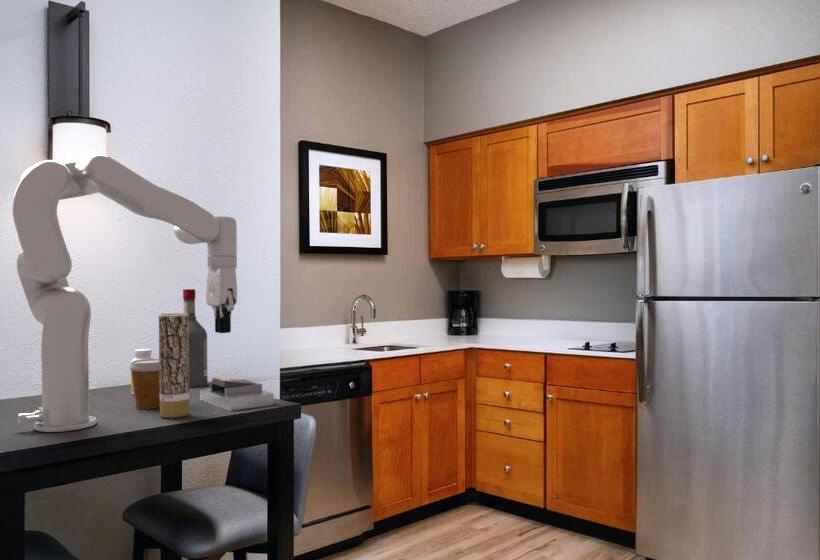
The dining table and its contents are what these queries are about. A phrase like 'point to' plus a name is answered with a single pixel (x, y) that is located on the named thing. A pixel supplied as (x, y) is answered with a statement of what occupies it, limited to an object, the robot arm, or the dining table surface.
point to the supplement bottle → (140, 355)
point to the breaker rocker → (231, 382)
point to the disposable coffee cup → (146, 383)
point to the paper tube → (174, 364)
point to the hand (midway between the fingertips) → (222, 332)
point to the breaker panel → (236, 396)
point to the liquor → (195, 343)
